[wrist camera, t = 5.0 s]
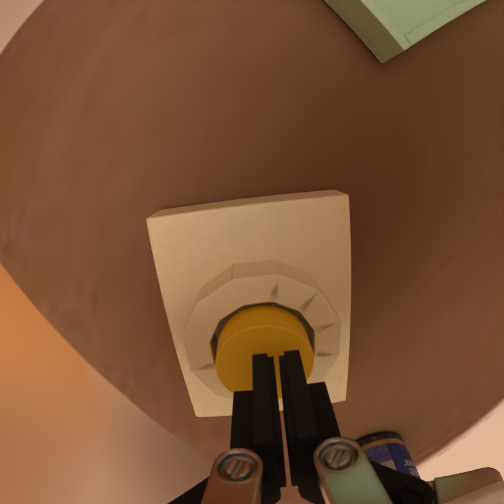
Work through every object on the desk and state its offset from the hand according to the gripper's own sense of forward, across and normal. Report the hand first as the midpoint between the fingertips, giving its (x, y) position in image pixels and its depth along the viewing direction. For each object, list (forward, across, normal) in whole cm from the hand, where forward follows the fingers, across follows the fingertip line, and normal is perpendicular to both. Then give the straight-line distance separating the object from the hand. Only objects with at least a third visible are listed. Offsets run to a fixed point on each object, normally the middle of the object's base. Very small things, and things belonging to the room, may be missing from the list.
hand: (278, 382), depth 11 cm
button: (+3, 0, 0) cm, 3 cm away
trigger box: (+7, 0, 0) cm, 7 cm away
